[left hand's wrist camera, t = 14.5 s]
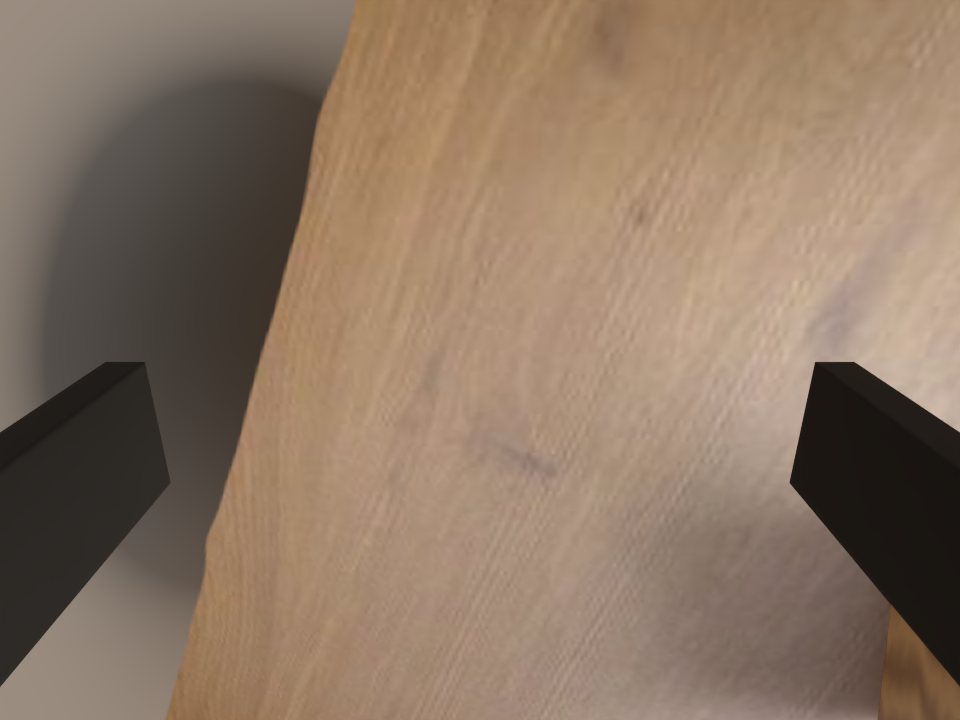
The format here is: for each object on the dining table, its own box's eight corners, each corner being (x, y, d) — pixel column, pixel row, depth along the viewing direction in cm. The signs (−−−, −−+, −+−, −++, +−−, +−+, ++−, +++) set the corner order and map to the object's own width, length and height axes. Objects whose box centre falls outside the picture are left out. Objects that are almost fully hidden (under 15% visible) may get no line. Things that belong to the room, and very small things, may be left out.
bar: (898, 540, 47) (981, 625, 39) (969, 531, 47) (1067, 615, 39) (874, 742, 55) (939, 846, 47) (935, 736, 55) (1011, 839, 47)
